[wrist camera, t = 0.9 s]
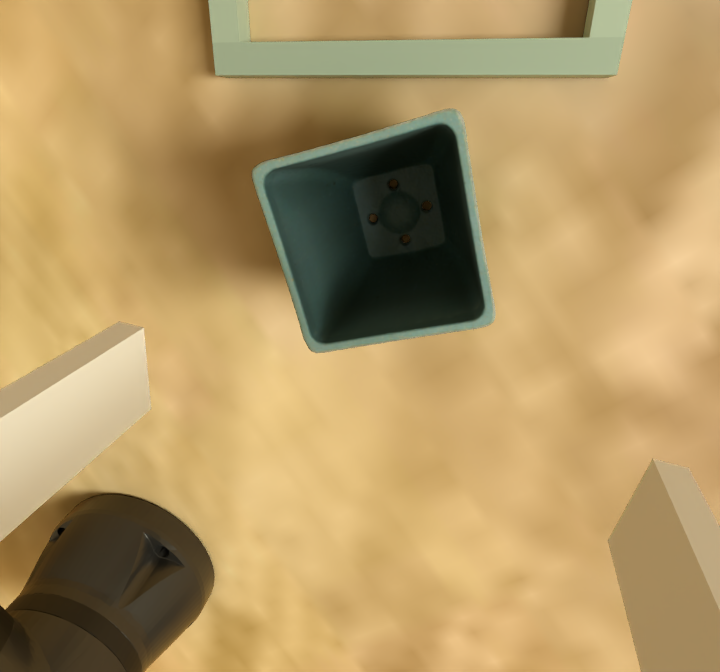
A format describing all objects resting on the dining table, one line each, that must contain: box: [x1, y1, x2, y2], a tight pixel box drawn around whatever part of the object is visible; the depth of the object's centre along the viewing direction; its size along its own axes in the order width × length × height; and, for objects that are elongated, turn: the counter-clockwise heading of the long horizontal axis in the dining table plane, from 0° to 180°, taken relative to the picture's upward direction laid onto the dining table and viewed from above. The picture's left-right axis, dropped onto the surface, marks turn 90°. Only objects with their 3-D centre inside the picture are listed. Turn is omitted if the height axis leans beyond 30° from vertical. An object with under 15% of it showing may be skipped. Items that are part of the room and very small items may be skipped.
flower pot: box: [252, 109, 495, 353], centre depth 24 cm, size 9×9×9 cm
